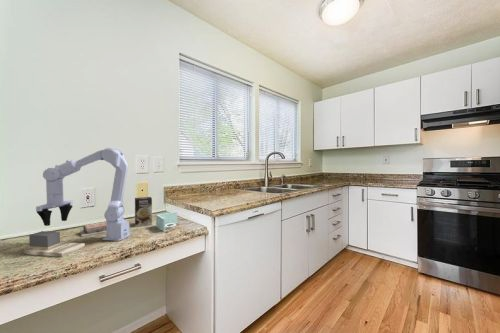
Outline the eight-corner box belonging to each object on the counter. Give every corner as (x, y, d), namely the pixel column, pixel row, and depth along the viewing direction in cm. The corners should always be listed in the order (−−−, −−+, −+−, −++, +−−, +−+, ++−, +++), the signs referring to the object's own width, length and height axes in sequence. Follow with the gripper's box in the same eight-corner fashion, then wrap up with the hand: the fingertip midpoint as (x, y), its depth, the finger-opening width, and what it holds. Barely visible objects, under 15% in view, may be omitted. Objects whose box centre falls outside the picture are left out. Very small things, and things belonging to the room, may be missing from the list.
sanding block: (60, 244, 95) (59, 232, 94) (47, 249, 90) (47, 236, 89) (42, 243, 96) (42, 231, 96) (29, 247, 91) (29, 235, 91)
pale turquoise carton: (163, 233, 115) (163, 219, 115) (156, 227, 124) (156, 214, 124) (185, 228, 123) (184, 215, 123) (176, 223, 132) (176, 211, 132)
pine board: (84, 246, 96) (84, 243, 96) (62, 256, 86) (61, 253, 86) (50, 244, 98) (50, 241, 98) (24, 254, 88) (24, 250, 88)
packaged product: (118, 218, 127) (122, 221, 120) (118, 226, 127) (122, 230, 120) (79, 224, 115) (81, 228, 107) (80, 233, 115) (81, 238, 108)
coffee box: (135, 227, 124) (134, 199, 123) (134, 224, 129) (134, 197, 129) (152, 224, 128) (152, 197, 127) (151, 222, 134) (151, 196, 133)
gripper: (63, 191, 107) (64, 218, 108) (29, 196, 93) (30, 227, 93) (75, 191, 106) (76, 219, 107) (43, 196, 92) (44, 228, 92)
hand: (56, 223), depth 100 cm, fingers open, 7 cm apart
